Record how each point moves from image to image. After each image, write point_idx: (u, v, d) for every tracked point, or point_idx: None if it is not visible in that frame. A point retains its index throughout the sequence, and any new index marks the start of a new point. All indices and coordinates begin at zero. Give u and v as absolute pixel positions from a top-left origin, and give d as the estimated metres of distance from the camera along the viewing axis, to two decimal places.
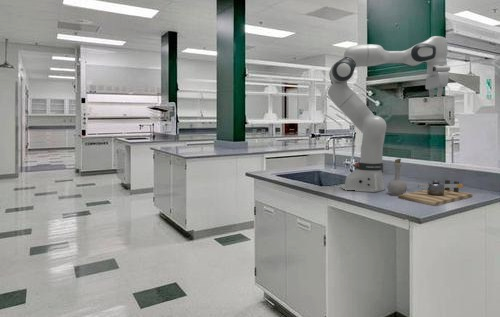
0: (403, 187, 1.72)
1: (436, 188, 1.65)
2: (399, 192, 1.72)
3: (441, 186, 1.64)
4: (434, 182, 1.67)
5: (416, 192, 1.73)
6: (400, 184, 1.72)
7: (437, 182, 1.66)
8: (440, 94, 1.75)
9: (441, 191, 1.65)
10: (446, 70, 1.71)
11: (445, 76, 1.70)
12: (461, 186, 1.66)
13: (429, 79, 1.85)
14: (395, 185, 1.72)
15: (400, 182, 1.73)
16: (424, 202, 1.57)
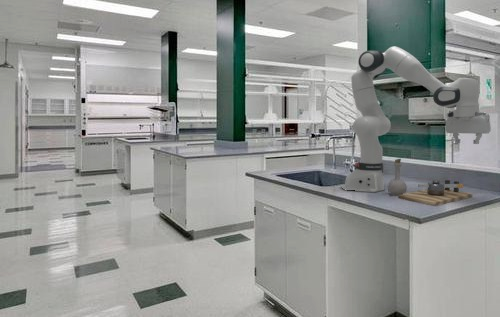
0: (403, 187, 1.72)
1: (436, 188, 1.65)
2: (399, 192, 1.72)
3: (441, 186, 1.64)
4: (434, 182, 1.67)
5: (416, 192, 1.73)
6: (400, 184, 1.72)
7: (437, 182, 1.66)
8: None
9: (441, 191, 1.65)
10: None
11: None
12: (461, 186, 1.66)
13: None
14: (395, 185, 1.72)
15: (400, 182, 1.73)
16: (424, 202, 1.57)
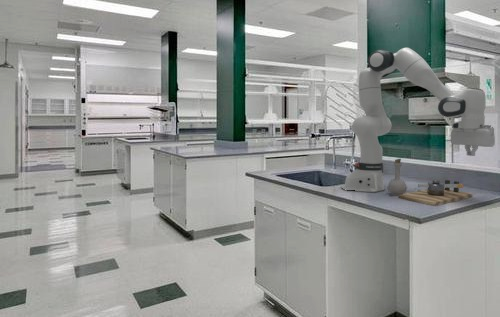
0: (403, 187, 1.72)
1: (436, 188, 1.65)
2: (399, 192, 1.72)
3: (441, 186, 1.64)
4: (434, 182, 1.67)
5: (416, 192, 1.73)
6: (400, 184, 1.72)
7: (437, 182, 1.66)
8: None
9: (441, 191, 1.65)
10: None
11: None
12: (461, 186, 1.66)
13: None
14: (395, 185, 1.72)
15: (400, 182, 1.73)
16: (424, 202, 1.57)
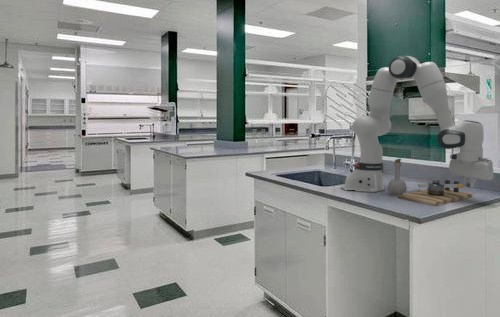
0: (403, 187, 1.72)
1: (436, 188, 1.65)
2: (399, 192, 1.72)
3: (441, 186, 1.64)
4: (434, 182, 1.67)
5: (416, 192, 1.73)
6: (400, 184, 1.72)
7: (437, 182, 1.66)
8: None
9: (441, 191, 1.65)
10: None
11: None
12: (461, 186, 1.66)
13: None
14: (395, 185, 1.72)
15: (400, 182, 1.73)
16: (424, 202, 1.57)
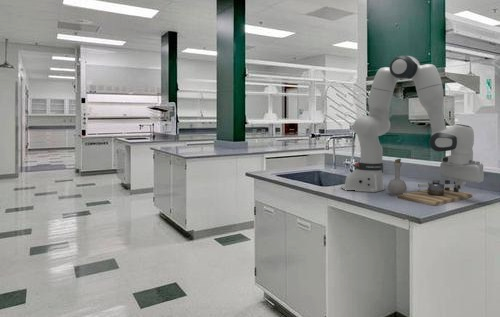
0: (403, 187, 1.72)
1: (436, 188, 1.65)
2: (399, 192, 1.72)
3: (441, 186, 1.64)
4: (434, 182, 1.67)
5: (416, 192, 1.73)
6: (400, 184, 1.72)
7: (437, 182, 1.66)
8: None
9: (441, 191, 1.65)
10: None
11: None
12: None
13: None
14: (395, 185, 1.72)
15: (400, 182, 1.73)
16: (424, 202, 1.57)
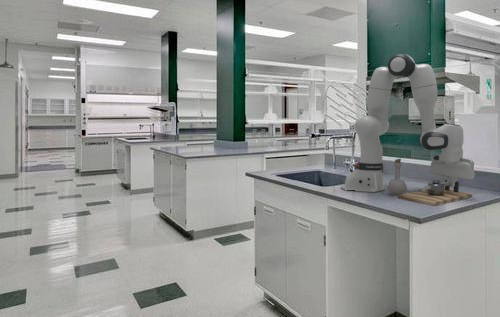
0: (403, 187, 1.72)
1: (441, 188, 1.64)
2: (399, 192, 1.72)
3: None
4: (436, 182, 1.66)
5: (416, 192, 1.73)
6: (400, 184, 1.72)
7: (439, 182, 1.66)
8: None
9: (443, 190, 1.66)
10: None
11: None
12: None
13: None
14: (395, 185, 1.72)
15: (400, 182, 1.73)
16: (424, 202, 1.57)
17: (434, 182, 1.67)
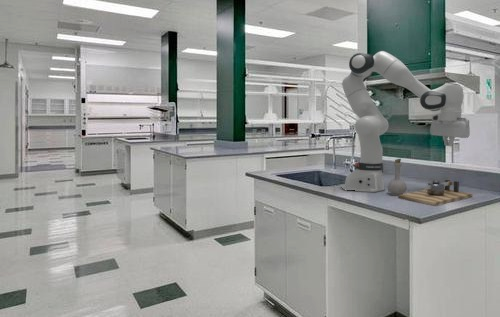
0: (403, 187, 1.72)
1: (441, 188, 1.64)
2: (399, 192, 1.72)
3: None
4: (436, 182, 1.66)
5: (416, 192, 1.73)
6: (400, 184, 1.72)
7: (439, 182, 1.66)
8: None
9: (443, 190, 1.66)
10: None
11: None
12: (451, 183, 1.73)
13: None
14: (395, 185, 1.72)
15: (400, 182, 1.73)
16: (424, 202, 1.57)
17: (434, 182, 1.67)
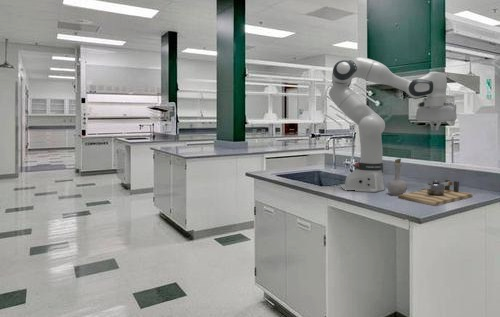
0: (403, 187, 1.72)
1: (441, 188, 1.64)
2: (399, 192, 1.72)
3: None
4: (436, 182, 1.66)
5: (416, 192, 1.73)
6: (400, 184, 1.72)
7: (439, 182, 1.66)
8: None
9: (443, 190, 1.66)
10: None
11: None
12: (451, 183, 1.73)
13: None
14: (395, 185, 1.72)
15: (400, 182, 1.73)
16: (424, 202, 1.57)
17: (434, 182, 1.67)
